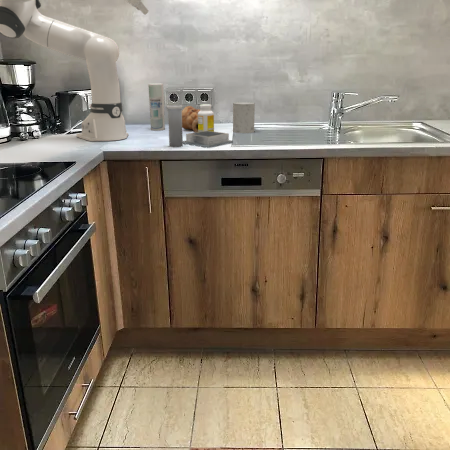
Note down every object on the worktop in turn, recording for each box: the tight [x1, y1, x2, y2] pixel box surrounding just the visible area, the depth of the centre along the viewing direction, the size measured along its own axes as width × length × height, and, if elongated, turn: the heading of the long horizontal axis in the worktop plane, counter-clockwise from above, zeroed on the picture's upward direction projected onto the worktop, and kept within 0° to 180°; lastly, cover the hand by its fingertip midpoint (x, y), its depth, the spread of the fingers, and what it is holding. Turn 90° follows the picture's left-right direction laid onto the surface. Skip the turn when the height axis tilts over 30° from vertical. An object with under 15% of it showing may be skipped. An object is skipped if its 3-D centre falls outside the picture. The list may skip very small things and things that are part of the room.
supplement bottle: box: [198, 103, 215, 132], centre depth 207 cm, size 7×7×13 cm
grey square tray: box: [183, 130, 234, 149], centre depth 192 cm, size 14×14×4 cm
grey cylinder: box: [232, 101, 256, 134], centre depth 219 cm, size 10×10×12 cm
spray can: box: [147, 83, 166, 132], centre depth 223 cm, size 6×6×20 cm
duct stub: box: [166, 103, 184, 148], centre depth 185 cm, size 5×5×15 cm
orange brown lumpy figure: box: [182, 105, 201, 133], centre depth 220 cm, size 19×11×15 cm
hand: (143, 10), depth 160 cm, fingers open, 8 cm apart
